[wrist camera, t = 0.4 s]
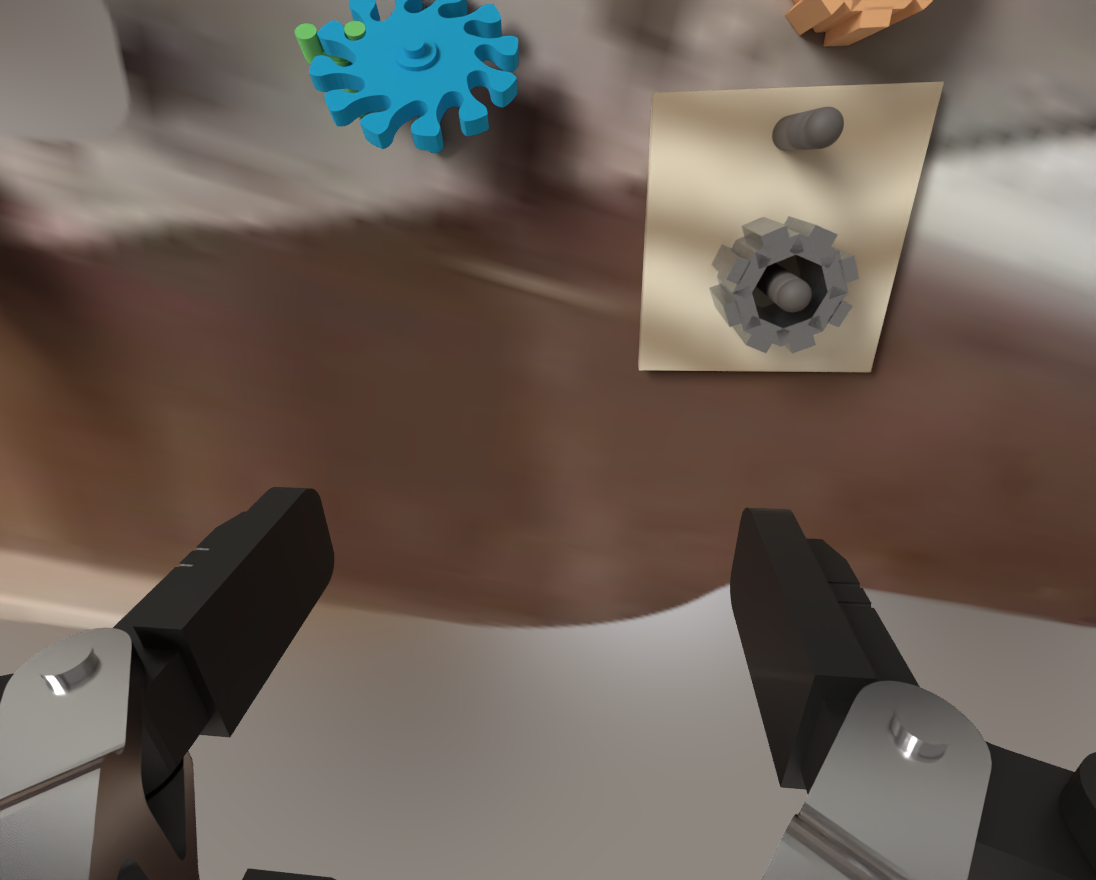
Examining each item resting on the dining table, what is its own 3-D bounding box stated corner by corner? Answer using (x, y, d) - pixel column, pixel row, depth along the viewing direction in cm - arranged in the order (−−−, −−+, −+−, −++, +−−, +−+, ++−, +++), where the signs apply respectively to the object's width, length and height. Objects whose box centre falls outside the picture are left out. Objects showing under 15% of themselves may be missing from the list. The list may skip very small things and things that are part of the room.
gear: (695, 245, 31) (708, 257, 27) (812, 195, 30) (843, 201, 26) (727, 345, 34) (743, 370, 30) (836, 305, 32) (868, 326, 28)
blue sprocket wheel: (550, 0, 27) (470, 152, 24) (548, 108, 32) (482, 242, 29) (344, -58, 28) (241, 81, 25) (376, 56, 33) (296, 180, 30)
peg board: (652, 95, 29) (664, 77, 23) (931, 84, 28) (1026, 62, 22) (638, 363, 36) (644, 407, 30) (862, 365, 35) (919, 412, 28)
